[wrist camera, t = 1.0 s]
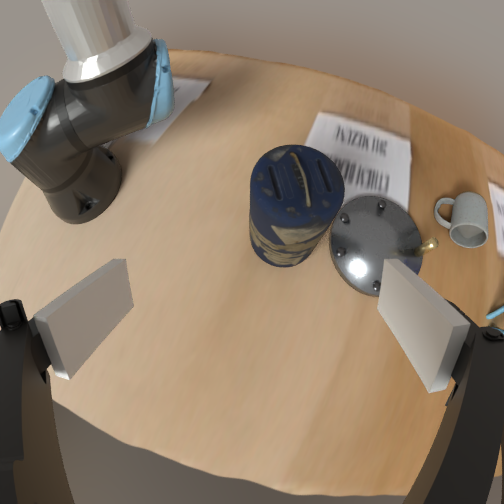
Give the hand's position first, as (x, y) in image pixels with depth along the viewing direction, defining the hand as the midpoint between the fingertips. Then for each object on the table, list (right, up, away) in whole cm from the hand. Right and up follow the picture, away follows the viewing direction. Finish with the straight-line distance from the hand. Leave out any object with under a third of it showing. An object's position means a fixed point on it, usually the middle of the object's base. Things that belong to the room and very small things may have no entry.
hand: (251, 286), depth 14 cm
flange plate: (+19, +2, +29) cm, 35 cm away
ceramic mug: (+37, +7, +30) cm, 49 cm away
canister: (+4, +4, +29) cm, 30 cm away
